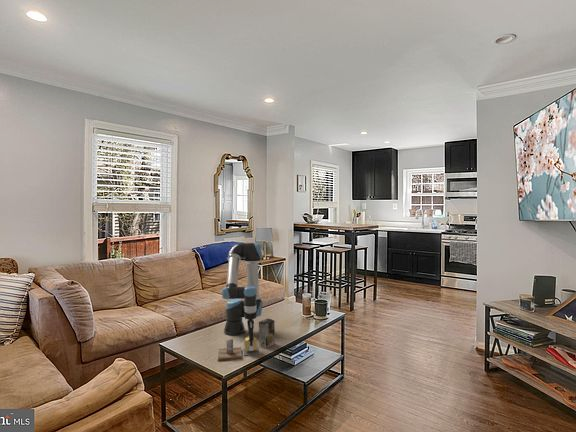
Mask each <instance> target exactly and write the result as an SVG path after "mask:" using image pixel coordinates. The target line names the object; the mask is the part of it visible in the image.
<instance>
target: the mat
mask: <svg viewBox="0 0 576 432" xmlns="http://www.w3.org/2000/svg"><path fill="white" fill-rule="evenodd" d="M259 354H260V353H259V349H258V346H257V349H255V350H254V351H248V350H245V347H244V348H243V357H249V356H259Z"/></svg>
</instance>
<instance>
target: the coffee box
mask: <svg viewBox="0 0 576 432" xmlns="http://www.w3.org/2000/svg"><path fill="white" fill-rule="evenodd" d="M275 326H276V325H275V320H274V319H272V318H266V319H265V318H264V319H262V320H260V321H259V322H258V341H259V342H258V346H259V347H260V348H264V349H267V348H269V347H272V346H273V345H275V344H276V340H275V339H276V337H275V336H276V334H275V330H276V329H275Z"/></svg>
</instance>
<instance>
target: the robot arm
mask: <svg viewBox="0 0 576 432" xmlns="http://www.w3.org/2000/svg"><path fill="white" fill-rule="evenodd" d="M261 246H262V245H261V244H260V243H259V242H240V243H239V242H238V243H237V244H235V245H233V246H232V247H231V248H230V250H229V252H228V253H227V261H228V266H227V275H226V286H224V287H222V289H221V291H222V292H221V296H222V299H223V300H228V301H227V302H226V304H225V312H226V313H225V314H226V315H225V318H226V319H225V320H226V321H225V324H224V328H223V333H224V334H225V335H227V336H239V335H241V334H244V333H245V331H246V327H245V324H244V322H243V318H244V319H245V320H247V330H248V331H247V333H248V335H247V337H249V340H248V341H249V351H254V349H253V340H254V339H253V337H254V328H255V327H254V326H255V322H254V320H255V319H257V318H258V317H261V315H262V312H263V311H262V310H263V304H264V303H263V300H262V298H261V297H260V295H259V294H260V292H259V291H260V290H259V289H260V288H259V287H260V285H259V282H260V280H259V278H260V277H259V263H260V262H261V259H263V255H262V253H263V252H262V247H261ZM241 260H244V263H245V264H246V286H238V284H239V283H238V282H239V270H240V269H239V268H240V262H241Z"/></svg>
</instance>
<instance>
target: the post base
mask: <svg viewBox="0 0 576 432" xmlns="http://www.w3.org/2000/svg"><path fill="white" fill-rule="evenodd" d="M242 359H243V355H242V347H241V346H238V347H234V339H233V338H227V339H226V348H219V349H218V355H217V362H222V361H236V360H242Z"/></svg>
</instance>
